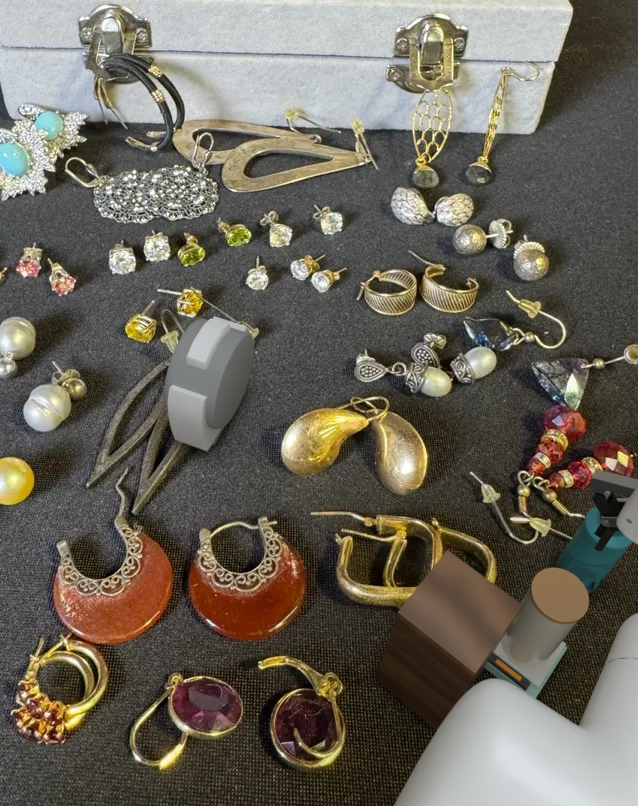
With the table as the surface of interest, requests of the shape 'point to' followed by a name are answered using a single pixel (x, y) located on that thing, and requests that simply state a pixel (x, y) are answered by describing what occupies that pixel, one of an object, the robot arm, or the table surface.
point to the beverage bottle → (592, 552)
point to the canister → (545, 617)
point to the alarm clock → (207, 379)
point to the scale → (523, 670)
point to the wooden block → (444, 638)
